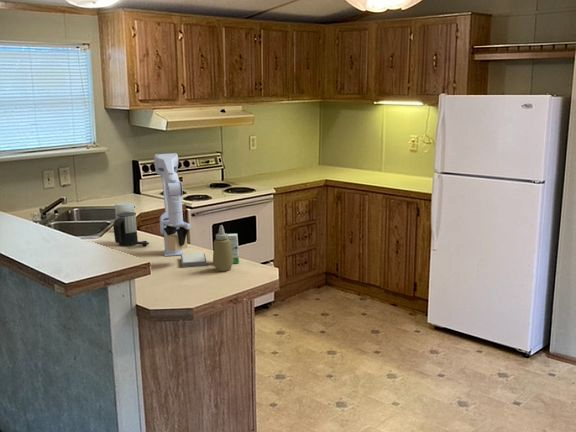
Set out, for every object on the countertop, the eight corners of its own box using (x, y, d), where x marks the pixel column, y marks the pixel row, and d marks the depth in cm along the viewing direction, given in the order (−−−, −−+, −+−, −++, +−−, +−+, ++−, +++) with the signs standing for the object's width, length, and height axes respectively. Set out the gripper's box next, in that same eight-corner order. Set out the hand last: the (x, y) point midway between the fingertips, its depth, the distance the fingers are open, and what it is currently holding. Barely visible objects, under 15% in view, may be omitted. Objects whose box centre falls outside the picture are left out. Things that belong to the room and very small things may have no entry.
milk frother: (122, 242, 302) (119, 211, 299) (154, 241, 301) (152, 211, 298) (112, 249, 288) (110, 217, 285) (146, 248, 287) (144, 217, 284)
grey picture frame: (181, 258, 267) (180, 254, 267) (204, 257, 269) (204, 252, 269) (182, 267, 254) (181, 262, 254) (206, 265, 256) (206, 260, 255)
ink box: (239, 260, 262) (237, 232, 260) (238, 263, 257) (237, 235, 255) (218, 261, 262) (216, 233, 259) (217, 264, 257) (215, 236, 255)
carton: (179, 246, 261) (178, 232, 260) (187, 247, 259) (186, 233, 258) (167, 250, 256) (166, 235, 254) (175, 251, 253) (174, 237, 252)
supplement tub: (114, 231, 326) (111, 203, 323) (131, 228, 332) (129, 201, 329) (121, 234, 319) (118, 205, 316) (138, 231, 324) (136, 203, 321)
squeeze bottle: (209, 271, 247) (207, 227, 243) (218, 266, 254) (216, 222, 251) (228, 273, 244) (226, 228, 241) (237, 267, 252) (234, 223, 248)
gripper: (155, 212, 255) (157, 244, 258) (181, 215, 247) (183, 248, 250) (168, 209, 261) (170, 240, 263) (193, 212, 253) (195, 244, 255)
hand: (177, 244), depth 257 cm, fingers closed on carton, 4 cm apart
